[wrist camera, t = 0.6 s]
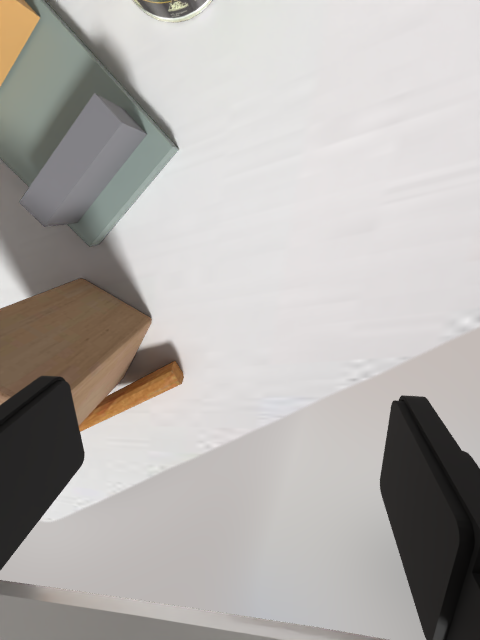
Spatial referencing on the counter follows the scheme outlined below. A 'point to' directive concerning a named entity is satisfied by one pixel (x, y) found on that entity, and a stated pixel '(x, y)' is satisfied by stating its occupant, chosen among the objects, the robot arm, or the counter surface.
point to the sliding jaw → (14, 31)
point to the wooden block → (70, 342)
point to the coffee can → (172, 9)
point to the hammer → (135, 394)
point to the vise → (75, 133)
